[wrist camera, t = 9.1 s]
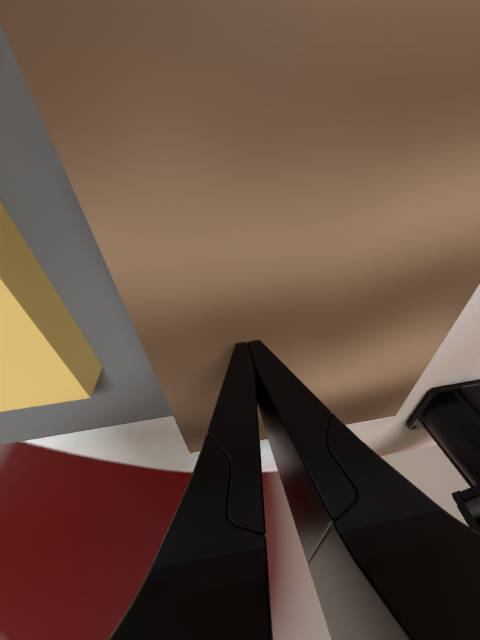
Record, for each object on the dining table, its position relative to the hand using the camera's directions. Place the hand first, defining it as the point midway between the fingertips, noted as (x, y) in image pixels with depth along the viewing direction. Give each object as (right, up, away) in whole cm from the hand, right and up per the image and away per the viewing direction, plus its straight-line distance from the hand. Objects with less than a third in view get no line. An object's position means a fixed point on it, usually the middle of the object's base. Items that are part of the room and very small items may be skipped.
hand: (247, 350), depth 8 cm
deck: (+2, +3, +4) cm, 5 cm away
